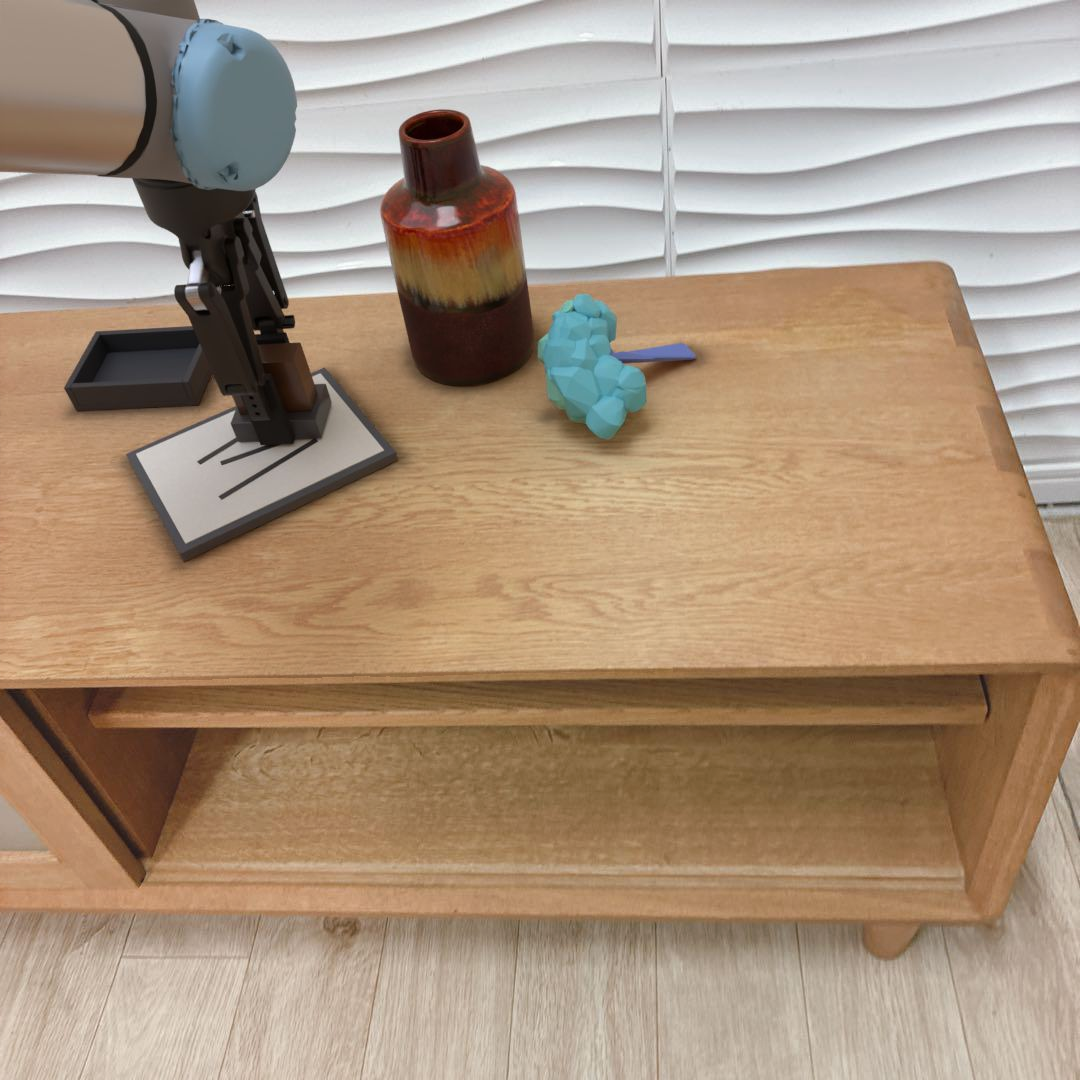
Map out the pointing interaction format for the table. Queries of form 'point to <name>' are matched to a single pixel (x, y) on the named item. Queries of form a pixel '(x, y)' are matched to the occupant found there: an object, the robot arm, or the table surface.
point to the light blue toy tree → (596, 366)
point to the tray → (140, 370)
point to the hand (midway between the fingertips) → (284, 419)
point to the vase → (457, 255)
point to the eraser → (288, 394)
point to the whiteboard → (252, 472)
